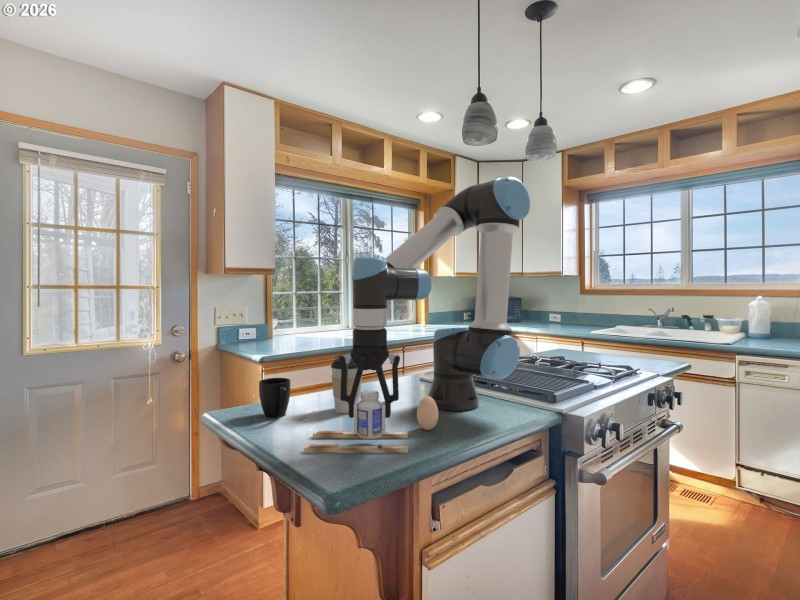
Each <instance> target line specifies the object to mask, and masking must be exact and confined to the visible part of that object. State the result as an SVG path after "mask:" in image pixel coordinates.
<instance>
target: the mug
mask: <svg viewBox="0 0 800 600" xmlns="http://www.w3.org/2000/svg"><path fill="white" fill-rule="evenodd" d="M258 393H259V401H260V406H261V409H262V412H263V415H264V418H266V419H280V418H283V417H285V416H286V415H287V411H288V406H289V403H290V397H291V379H290V378H287V377H268V378H264V379H261V380H259V382H258Z"/></svg>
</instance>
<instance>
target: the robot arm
mask: <svg viewBox="0 0 800 600" xmlns="http://www.w3.org/2000/svg"><path fill="white" fill-rule="evenodd" d="M530 209H531V199H530V195H529V192H528V190H527V188H526V187H525V184H524V183H523V182H522V181H521V180H519V179H518V178H516V177H513V176H507V177H498V178H496V179H493V180H490V181H486V182H482V183H479V184H474V185H471V186H468V187H466V188H464V189H463V190H461V191H460V192H458V193H457V194H456V195H454V196H453V197H451V198H450V199H449V200H448V201H447V202H445V203H444V204H443V205H442V206H441V207H439V208H438V210H436V213H435V214H436V215H435V216H434V217H433V218H432V219H430V220H429V221H428V222H427V223H426V224H425V225H423V226H422V227H421V228H420V229H419V230H418V231H416V232H415V233H414V234H412V236H410V237H409V238H408V239H407V240H405V241H404V242H403V243H402V244H401V245H400V246H398V247H397V248H396V249H394V251H392V252H391V253H389V255H388V256H387V257H385V258H384V257H379V256H378V257H377V256H374V257H373V256H367V257H366V256H363V257H356V258H355V259H354V260H353V263H352V277H351V280H352V326H353V327H355V328H353V330H352V349H351V351H350V352H349V353H347V354H341V355H340V356H339V357H338V358H339V361H340V364H341V393H340V399H341V400H342V401H346V402H348V404H349V413H348V417H349V418H350V419H353V432H354V434H357V433H358V401H355V398H356V394H357V390H358V387H359V383H360V380H361V376H362V377H363V373H364V371H375V373H376V375H377V379H378V381H379V382H378V383H379V386H380V390H381V392H382V396H383V399H384V400H382V401H381V403H382V434H385V432H386V428H387V426H386V425H387V424H386V423H387V422H386V420H387V419H389V418H391V415H392V414H391V412H392V410H391V408H392V407H391V404H392V403H393V402H397V401H399V399H400V396H399V391H400V390H399V364H400V361H401V356H400V354H393V353H392V352H391V353H390V351H389V349H388V341H387V340H388V339H387V338H388V335H387V334H388V332H387V331H388V330H387V329H386V326H387V325H388V317H387V316H388V313H387V312H388V307H387V306H388V301H417V300H418V301H419V300H424V299H427V298H428V297H429V295H430V293H431V291H432V277H431V275H430V273H429V272H428V271H427V270H426V269H423V268H418V267H419V266H420V265H422V264H423V263H424V262H425V261H427V260H428V259H429V258H430V257H431V256H432V255H433V254H434V253H435V252H437V250H439V249H440V248H441V247H442V246H443V245H444V244H446V242H448V241H449V240H450V239H451V238H453V237H457V236H459V235H461V234H462V233H463V232H464V231H466V230H469V229H471V228H475V229H476V230H477V231H478V232H479V234H480V243H479V255H478V256H479V257H478V271H477V283H476V298H475V311H474V312H475V313H474V320H473V321H472V322H471V323H469V325H468V326H460V327H459V326H458V327H447V328H438V329H435V331H434V334H433V341H432V346H433V348H432V349H433V350H432V352H433V378H432V382H431V385H430V388H429V391H428V394H427V396H429V397H431V398H433V399H434V401H435V402H436V405H437V408H438V410H443V411H451V412H452V411H453V412H455V411H460V412H461V411H470V410H473V409H476V408H478V407H479V395H478V394H479V393H478V391H477V388H476V386H475V385H476V384H475V381H474V376H473V375H476V376H480V377H484V378H486V379H496V380H501V379H505V378H507V377H508V376H510V375H511V374H512V372H514V371H515V369H516V368H517V366H518V363H519V360H520V355H521V348H520V345H519V343H518V341H517V339H516V338H514V337H513V335H512V334H513V329H512V328H511V326H510V325H509V324H508V307H509V295H510V278H511V266H512V265H511V264H512V251H513V236H514V235H515V234H516V233H517V232H518V231H519V230H520V221H522V220H523V219H525V218H526V217H527V216H528V214H529V212H530ZM350 358H352V359H353V360H354V361H355V363H356V364H357V366H358V369H357V372H356V376H355V380H354V383H353V387H352V390H351V394H350V395H348V394H347V385H348V364H349V363H350ZM387 359H389V364H390V365H391V366H392V367H391V370H392V371H391V374H392V376H391V377H392V394H390V391H389V387H388V383H387V380H386V378H385V372H384V369H383V365H384V363H385V362H386V361H387ZM386 418H387V419H386Z"/></svg>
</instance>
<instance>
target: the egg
mask: <svg viewBox="0 0 800 600" xmlns="http://www.w3.org/2000/svg"><path fill="white" fill-rule="evenodd" d="M416 418H417V422H418V424H419V426H420V427H421V429H424V430H426V431H430V430H432V429H433V428H434V427H435V426H436V425H437V423H438V420H439V409H438V408H437V405H436V402H435V401H434V399H433V398H431V397H429V396H428V395H427V396H424V397H423V398H421V400H420V401H419V404H418V405H417V410H416Z"/></svg>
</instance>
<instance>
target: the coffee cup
mask: <svg viewBox="0 0 800 600" xmlns="http://www.w3.org/2000/svg"><path fill="white" fill-rule="evenodd" d="M330 368H331V384H332V394H333V400H334V411H335V412H336V413H339V414H349V404H348V402H346V401H342V400H341V399H340V393H341V364H340V361H339V357H337V358H335V359H334V361H333V362H331V366H330ZM357 369H358V366H357V364H356V363H355V361H354V360H353V359H352V358H350V363H349V364H348V385H347V394H348V395H350V394H351V390H352V387H353V383H354V380H355V376H356V372H357ZM362 379H363V375H362V376H361V380H360V383H359V387H358V390H357V394H356V398H355V401H358V403H359V402H360V401H361V392H362V391H361V389H362V381H363V380H362Z"/></svg>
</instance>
